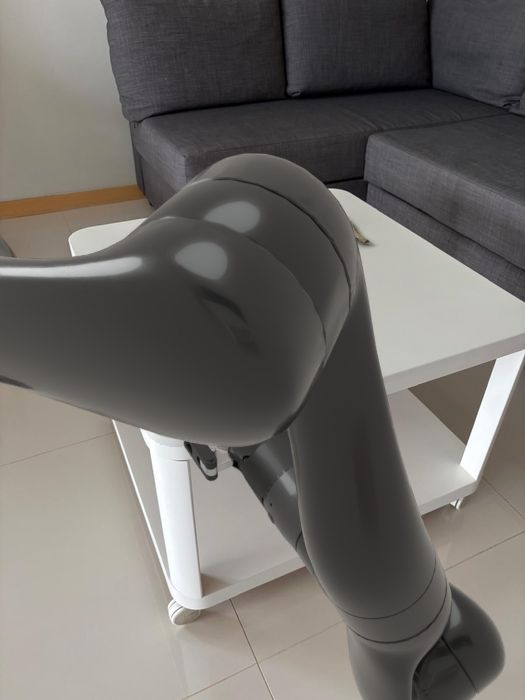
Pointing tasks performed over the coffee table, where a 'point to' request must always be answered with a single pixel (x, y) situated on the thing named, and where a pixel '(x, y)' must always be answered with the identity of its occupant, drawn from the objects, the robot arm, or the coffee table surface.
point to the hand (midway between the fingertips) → (225, 387)
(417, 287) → the coffee table surface
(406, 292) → the coffee table surface
